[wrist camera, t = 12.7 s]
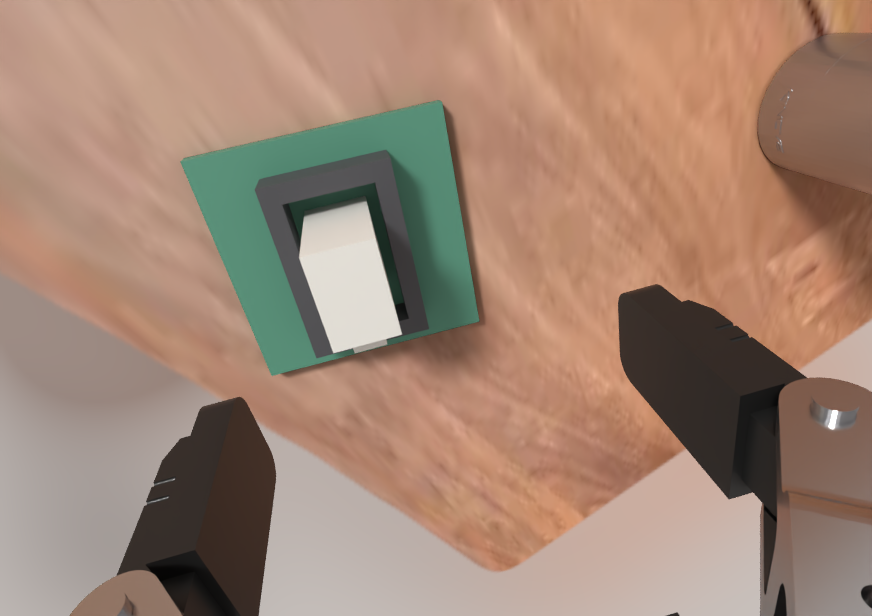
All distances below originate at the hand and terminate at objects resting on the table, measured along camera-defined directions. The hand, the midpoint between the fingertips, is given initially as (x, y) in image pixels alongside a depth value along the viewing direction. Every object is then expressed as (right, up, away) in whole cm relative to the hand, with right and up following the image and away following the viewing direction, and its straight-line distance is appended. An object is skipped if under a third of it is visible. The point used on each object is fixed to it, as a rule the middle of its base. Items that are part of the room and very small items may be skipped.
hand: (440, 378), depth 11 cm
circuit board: (-6, +6, +25) cm, 27 cm away
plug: (-6, +6, +24) cm, 25 cm away
